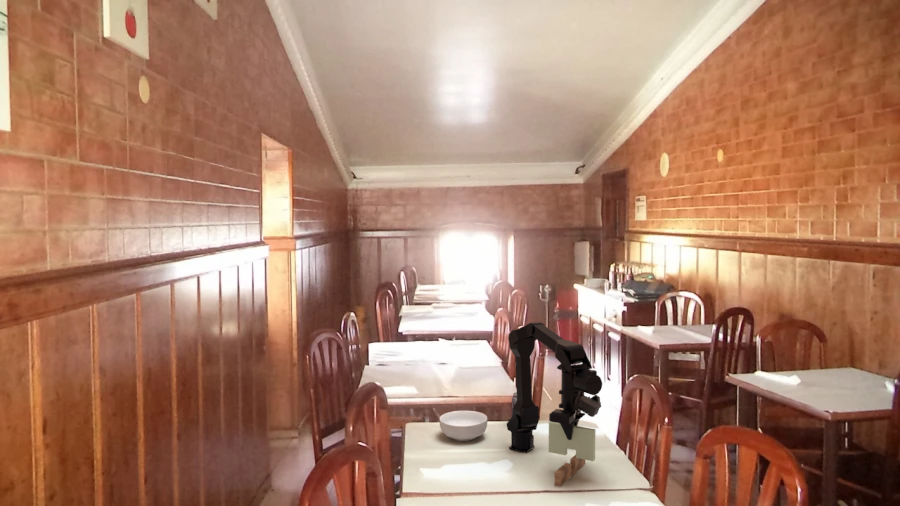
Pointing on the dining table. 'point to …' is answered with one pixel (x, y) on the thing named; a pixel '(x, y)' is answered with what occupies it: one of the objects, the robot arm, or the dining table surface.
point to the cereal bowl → (463, 424)
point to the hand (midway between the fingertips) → (570, 438)
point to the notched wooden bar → (568, 470)
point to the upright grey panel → (572, 441)
